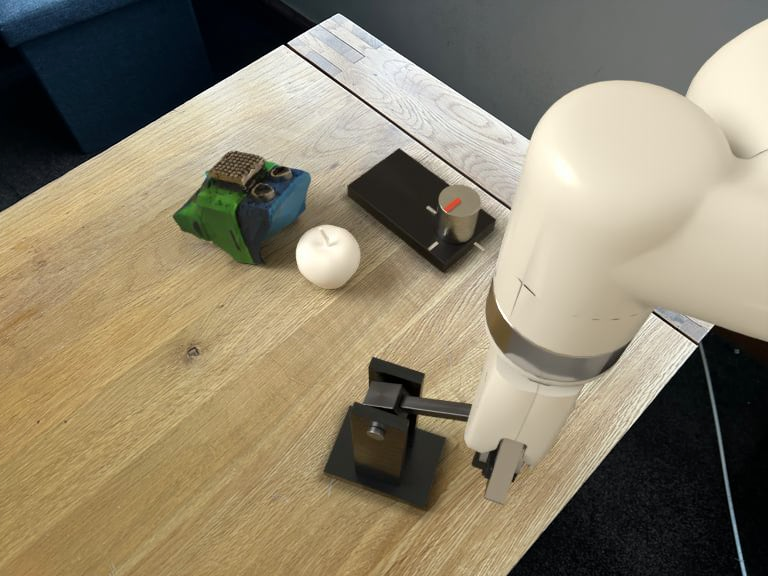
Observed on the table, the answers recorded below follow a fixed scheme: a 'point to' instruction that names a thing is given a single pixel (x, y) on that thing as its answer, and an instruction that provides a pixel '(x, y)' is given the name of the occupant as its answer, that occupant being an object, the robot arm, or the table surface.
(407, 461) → the lever bracket
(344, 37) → the table surface
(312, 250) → the plain white apple
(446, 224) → the knob
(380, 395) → the lever
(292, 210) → the sculpture
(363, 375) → the table surface
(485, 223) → the dial panel
